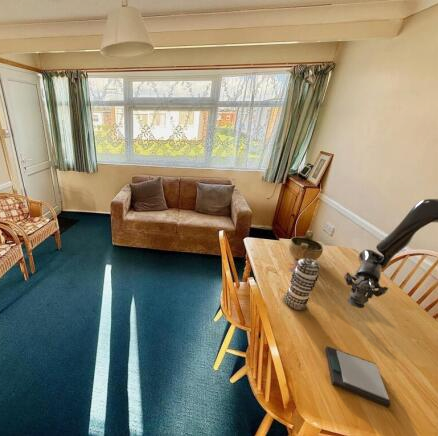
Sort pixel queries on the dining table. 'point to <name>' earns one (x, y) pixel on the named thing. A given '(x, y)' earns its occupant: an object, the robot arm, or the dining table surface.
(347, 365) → the scale
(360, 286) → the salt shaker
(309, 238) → the ceramic bowl
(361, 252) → the robot arm
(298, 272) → the decorative candle
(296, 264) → the lily
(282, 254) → the dining table surface
